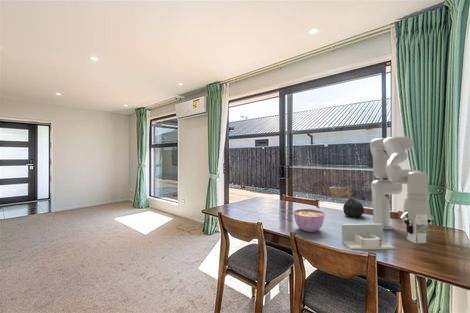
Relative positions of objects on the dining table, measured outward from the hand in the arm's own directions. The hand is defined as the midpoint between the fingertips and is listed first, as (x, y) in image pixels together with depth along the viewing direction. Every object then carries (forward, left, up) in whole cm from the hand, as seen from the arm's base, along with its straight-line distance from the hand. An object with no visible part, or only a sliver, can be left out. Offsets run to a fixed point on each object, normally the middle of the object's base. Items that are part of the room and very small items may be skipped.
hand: (416, 232), depth 110 cm
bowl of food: (-36, -42, -11) cm, 57 cm away
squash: (-67, +2, -11) cm, 68 cm away
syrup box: (0, 0, -5) cm, 5 cm away
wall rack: (-11, -18, -11) cm, 24 cm away
